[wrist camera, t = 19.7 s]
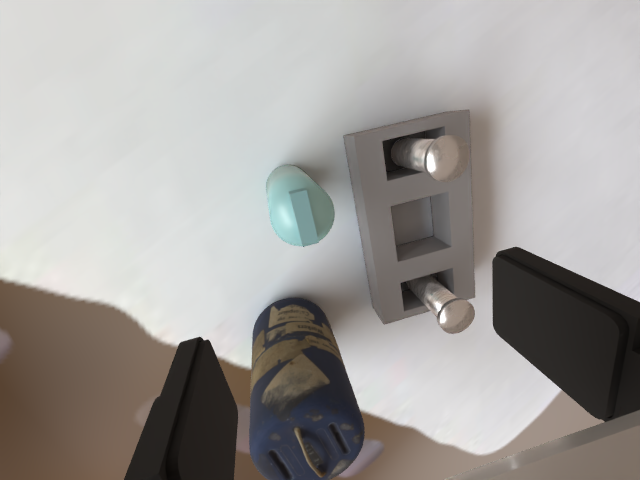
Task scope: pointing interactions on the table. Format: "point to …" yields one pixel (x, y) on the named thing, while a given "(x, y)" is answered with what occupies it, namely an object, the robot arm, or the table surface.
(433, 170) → the plunger
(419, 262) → the housing
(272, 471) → the canister
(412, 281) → the plunger
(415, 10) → the table surface
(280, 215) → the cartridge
